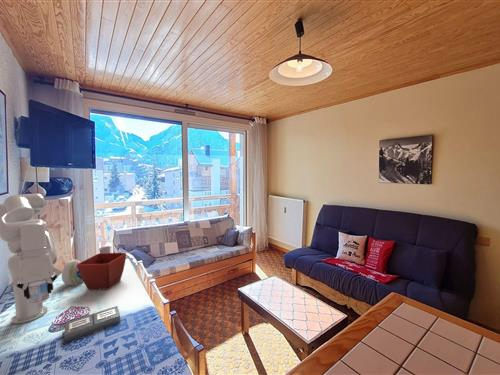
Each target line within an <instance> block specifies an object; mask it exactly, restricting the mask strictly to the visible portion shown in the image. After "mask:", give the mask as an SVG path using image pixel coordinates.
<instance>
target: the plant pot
mask: <svg viewBox="0 0 500 375" xmlns="http://www.w3.org/2000/svg"><path fill="white" fill-rule="evenodd" d="M126 258H127V252H110V253H100V252H99V253H97V254H95V255H93V256H91V257H88V258H87V259H84V260H83V261H80V262H81V263H79V264H77V267H78V270H79V273H80V276H81V278H82V280H83V281H82V283H84V285H85V286H86V289H88V290H90V291H91V290H108V289H111V288H112V287H113V286H115V285H116V284H117V283H118V282H120V281H121V280H122V275H123V273H124V270H125V269H124V268H125V264H126Z"/></svg>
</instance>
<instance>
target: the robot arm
mask: <svg viewBox="0 0 500 375" xmlns="http://www.w3.org/2000/svg"><path fill="white" fill-rule="evenodd" d="M45 207H46V200H45V197H44V196H43V195H42V194H40V193H25V194H24V193H23V194H13V195H10V196H7V197H6V198H5V199H4V202H3V203H1V204H0V238H1V240H2V241H4V242H7V248H8V250H9V251H10V253H12V254H13V255H12V256H10V257H9V258H8V261H7V268H8V270H9V274H10V277H11V282H10V284H11V285H12V290H13V298H14V299H13V300H14V309H15V315H14V316H13V317H12V319H11V323H12V324H19V325H20V324H25V323H28V322H31V321H34V320H37V319H39V318H40V317H42V316H43V315H45V314H46V313H47V312H48V307H47V306H45V305H44V304H43V303H44V302H41V303H38V304H31V303H30V297H29V289H28V283H31V282H36V281H40V280H44V279H46V280H47V281H48V293H49V294H52V291H53V290H54V284H53V283H54V282H55V280H56V279H57V278H58V277H59V276H60V275H62V271H63V270H61V269H59V268H58V267H57V268H56V267H55V266H54V265H55V264H56V262H57V260H58V255H57V251H56V248H55V246H54V241H53V239H52V235H51V234H50V233H49V231H47V229H48V228H47V226H48V225H47V222H45V221H44V220H43V219H41V218H40V219H39V218H38V219H36V218H35V219H32V218H33V217H35V216H39V215H41V213H42V212H43V210H44V209H45ZM54 273H55V275H54Z"/></svg>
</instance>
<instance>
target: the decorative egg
mask: <svg viewBox="0 0 500 375" xmlns="http://www.w3.org/2000/svg"><path fill="white" fill-rule="evenodd" d="M81 262H82V261H80V260H79V259H71V260H69V261H67V263H66V264H65V265H64V266H63V268H62V270H61V271H62V273H61V280H62V283H63V284H64V285H65V286H68V285H72V286H76V285H75V284H77V285H79V284H81V283H83V280H82V278H81V276H80V273H79V270H78V267H77V264H79V263H81ZM80 282H81V283H80ZM78 283H79V284H78Z"/></svg>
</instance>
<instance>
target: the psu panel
mask: <svg viewBox="0 0 500 375" xmlns="http://www.w3.org/2000/svg"><path fill="white" fill-rule="evenodd" d="M121 321H122V320H121V314H120V310H119V306H118V305H116V306H112V307H110V308H107V309H103V310H100V311H97V312H93V313H91V314H88V315H84V316H81V317H78V318H76V319H72V320H69V321H66V322H65V325H64V333H63V334H64V335H63V337H64V343H65V342H69V341H71V340H75V339H76V338H80V337H83V336H85V335H88V334H91V333H93V332H97V331H99V330H101V329H104V328H108V327H110V326H113V325H116V324H118V323H121Z"/></svg>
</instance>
